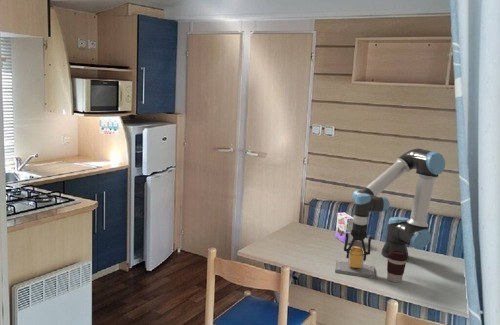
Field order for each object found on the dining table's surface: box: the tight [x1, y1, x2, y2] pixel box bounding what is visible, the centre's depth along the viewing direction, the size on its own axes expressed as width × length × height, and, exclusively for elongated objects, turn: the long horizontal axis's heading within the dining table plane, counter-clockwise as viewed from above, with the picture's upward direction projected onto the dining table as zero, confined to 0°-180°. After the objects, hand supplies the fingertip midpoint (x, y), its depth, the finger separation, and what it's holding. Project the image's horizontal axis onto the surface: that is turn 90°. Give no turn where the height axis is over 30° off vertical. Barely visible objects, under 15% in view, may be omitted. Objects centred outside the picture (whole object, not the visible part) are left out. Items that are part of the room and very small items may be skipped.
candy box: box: [334, 212, 354, 245], centre depth 307 cm, size 14×6×16 cm, turn 17°
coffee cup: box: [386, 250, 409, 283], centre depth 248 cm, size 10×10×15 cm
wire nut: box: [350, 246, 364, 268], centre depth 257 cm, size 6×6×10 cm
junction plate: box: [334, 260, 376, 279], centre depth 258 cm, size 20×14×8 cm
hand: (355, 265), depth 258 cm, fingers closed on wire nut, 6 cm apart
